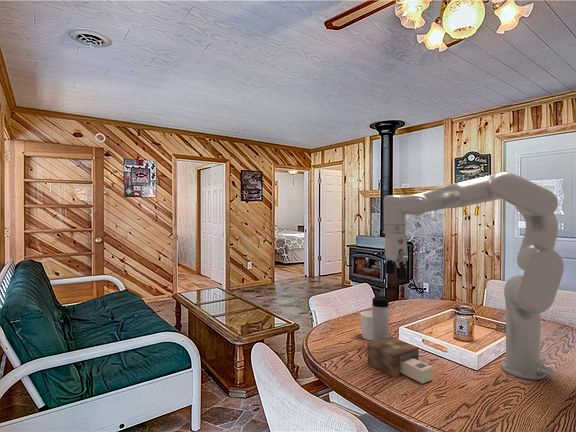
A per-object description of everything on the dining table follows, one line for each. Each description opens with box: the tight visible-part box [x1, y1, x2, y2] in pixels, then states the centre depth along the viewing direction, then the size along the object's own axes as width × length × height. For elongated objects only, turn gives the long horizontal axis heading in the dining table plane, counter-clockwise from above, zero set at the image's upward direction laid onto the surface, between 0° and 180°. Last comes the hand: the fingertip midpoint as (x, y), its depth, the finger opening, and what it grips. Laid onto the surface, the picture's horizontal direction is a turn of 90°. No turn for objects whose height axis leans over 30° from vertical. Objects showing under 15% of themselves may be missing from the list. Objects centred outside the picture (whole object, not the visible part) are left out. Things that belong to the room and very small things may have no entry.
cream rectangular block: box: [399, 357, 434, 385], centre depth 114 cm, size 14×5×4 cm, turn 31°
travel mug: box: [371, 295, 391, 342], centre depth 135 cm, size 6×7×20 cm
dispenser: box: [367, 335, 420, 378], centre depth 120 cm, size 13×12×7 cm
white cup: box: [360, 310, 372, 341], centre depth 146 cm, size 8×8×10 cm
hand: (395, 276), depth 126 cm, fingers open, 9 cm apart
